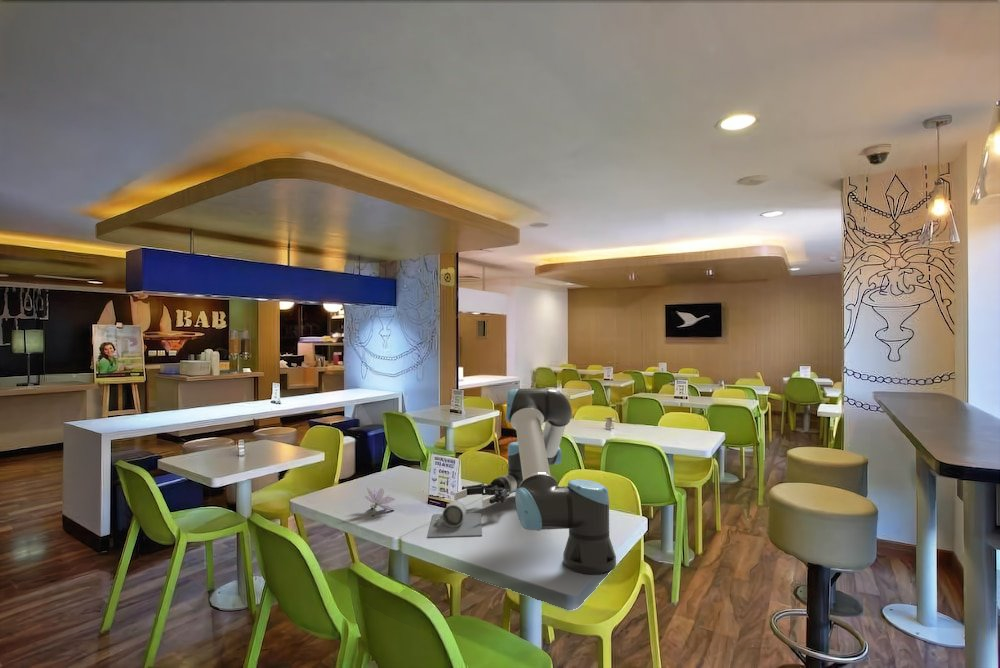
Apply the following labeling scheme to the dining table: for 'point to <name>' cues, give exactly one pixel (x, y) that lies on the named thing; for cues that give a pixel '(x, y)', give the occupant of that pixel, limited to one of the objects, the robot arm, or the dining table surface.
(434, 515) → the placemat
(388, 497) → the water lily
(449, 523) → the ceramic mug
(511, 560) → the dining table surface
